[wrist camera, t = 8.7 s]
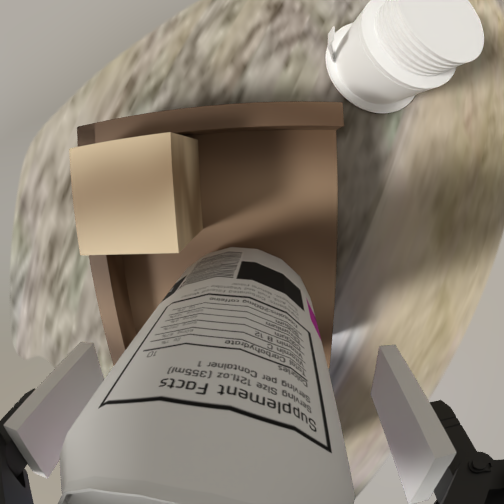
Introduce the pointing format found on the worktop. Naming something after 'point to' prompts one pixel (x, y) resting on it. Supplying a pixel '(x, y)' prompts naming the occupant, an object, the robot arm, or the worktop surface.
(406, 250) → the worktop surface
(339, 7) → the worktop surface
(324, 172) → the tray
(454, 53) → the downlight
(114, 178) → the smooth beige cube
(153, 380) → the supplement can
